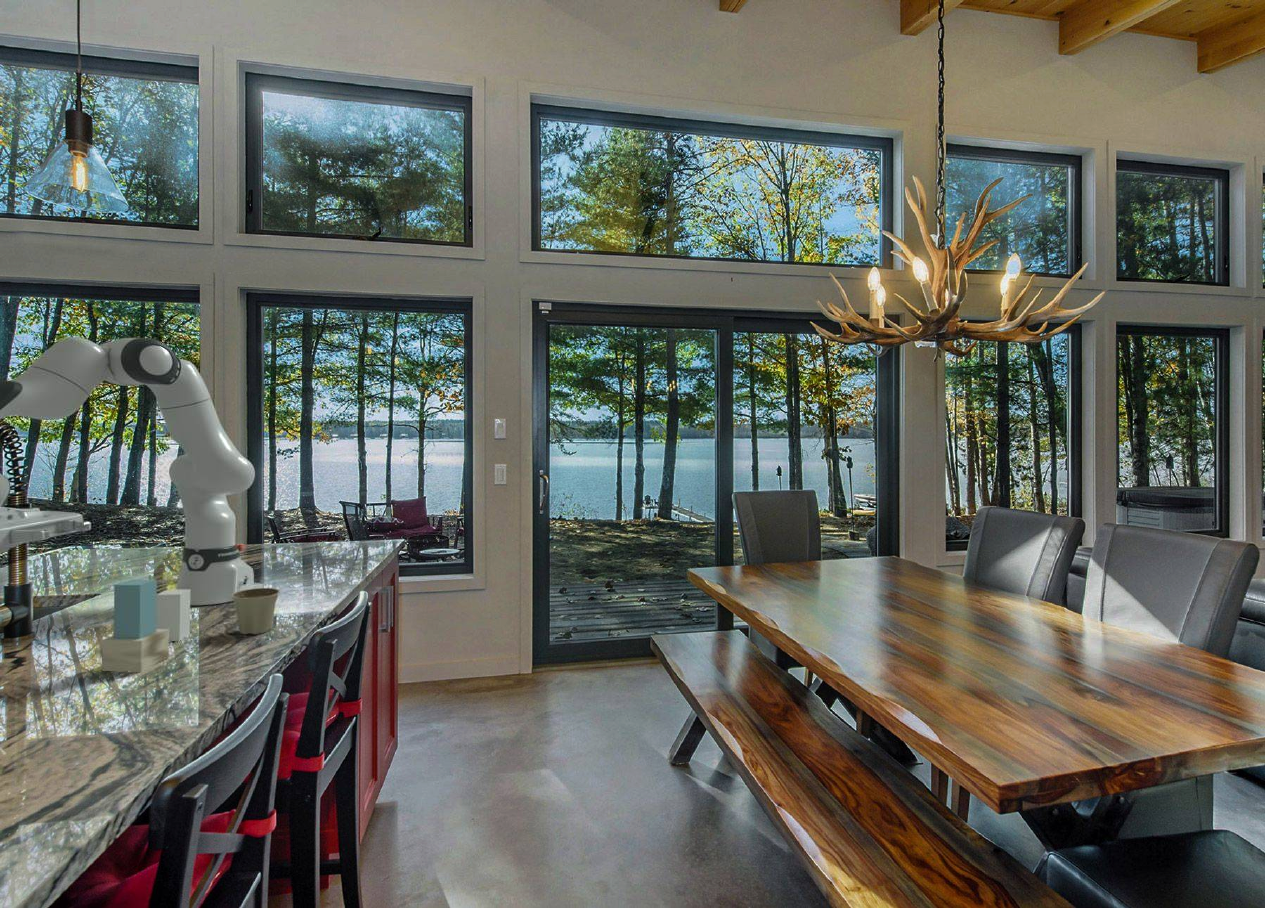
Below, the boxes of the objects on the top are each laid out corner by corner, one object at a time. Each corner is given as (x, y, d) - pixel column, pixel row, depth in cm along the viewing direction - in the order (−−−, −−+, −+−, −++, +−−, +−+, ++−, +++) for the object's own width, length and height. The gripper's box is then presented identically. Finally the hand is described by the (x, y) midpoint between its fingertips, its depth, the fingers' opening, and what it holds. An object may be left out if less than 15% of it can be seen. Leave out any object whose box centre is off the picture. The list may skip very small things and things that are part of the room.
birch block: (131, 659, 121) (132, 628, 121) (168, 659, 121) (169, 629, 121) (102, 672, 114) (102, 640, 114) (141, 673, 114) (141, 640, 114)
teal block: (131, 631, 119) (131, 579, 119) (156, 631, 120) (156, 579, 119) (114, 638, 115) (114, 584, 114) (139, 638, 115) (140, 585, 115)
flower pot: (256, 639, 134) (257, 599, 134) (219, 635, 136) (220, 596, 136) (289, 626, 144) (289, 589, 143) (254, 623, 145) (254, 586, 145)
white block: (166, 635, 135) (167, 589, 135) (189, 634, 136) (190, 589, 136) (155, 642, 131) (156, 594, 130) (179, 641, 132) (180, 594, 131)
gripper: (-67, 522, 108) (16, 523, 109) (39, 506, 128) (108, 507, 129) (-66, 558, 108) (17, 558, 109) (40, 536, 129) (109, 537, 129)
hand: (67, 530), depth 119 cm, fingers open, 8 cm apart
